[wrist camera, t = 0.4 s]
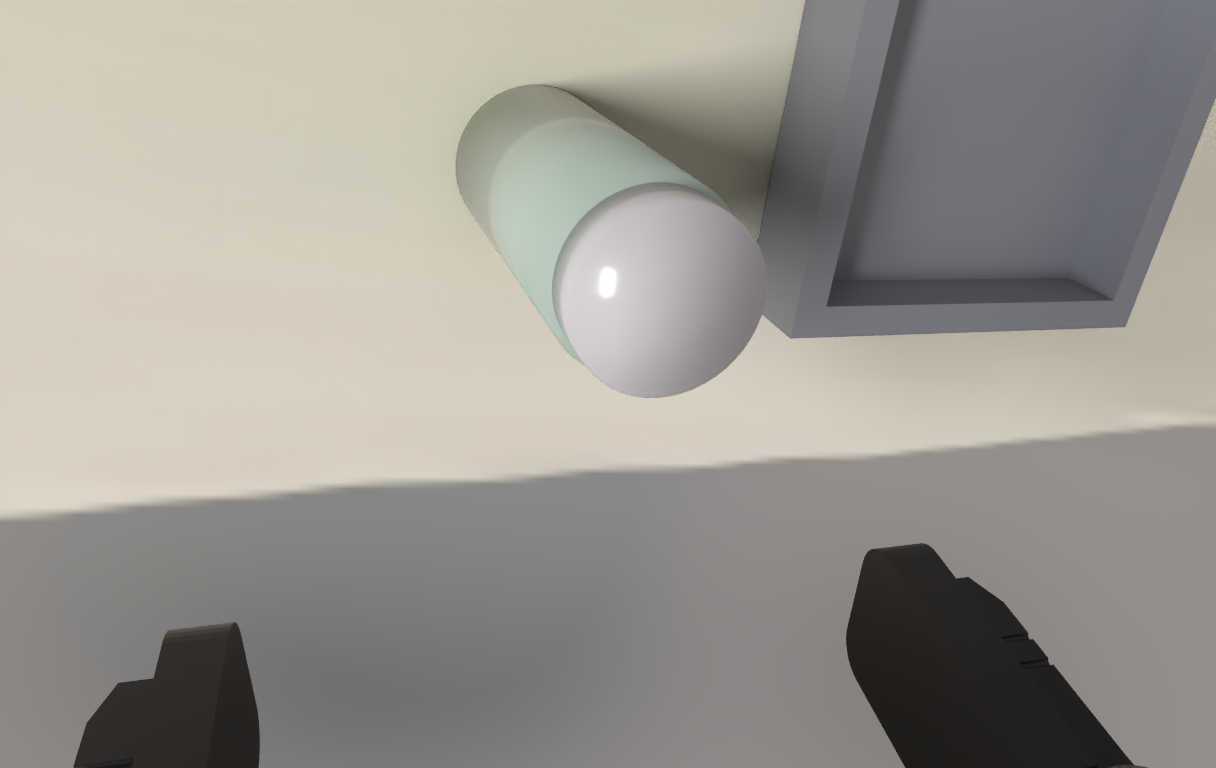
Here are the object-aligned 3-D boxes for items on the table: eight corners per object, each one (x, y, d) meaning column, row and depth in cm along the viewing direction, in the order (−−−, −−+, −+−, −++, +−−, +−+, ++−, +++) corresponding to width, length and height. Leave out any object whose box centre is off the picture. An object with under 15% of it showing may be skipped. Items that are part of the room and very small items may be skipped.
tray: (870, -329, 28) (944, -352, 25) (1252, -232, 33) (1349, -241, 30) (746, 301, 37) (790, 338, 34) (1064, 295, 42) (1125, 327, 39)
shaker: (459, 79, 29) (574, 189, 19) (615, 89, 31) (794, 195, 21) (451, 239, 32) (551, 411, 22) (598, 240, 33) (751, 399, 23)
